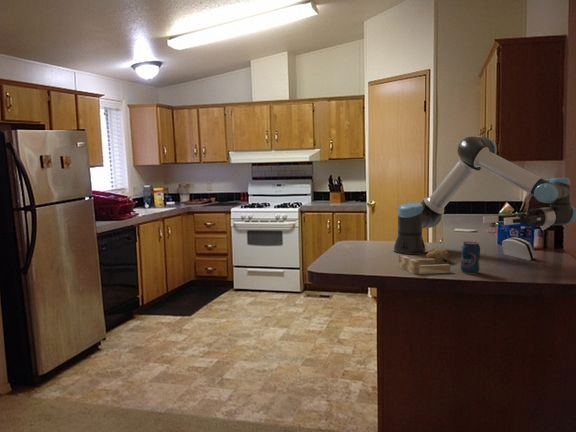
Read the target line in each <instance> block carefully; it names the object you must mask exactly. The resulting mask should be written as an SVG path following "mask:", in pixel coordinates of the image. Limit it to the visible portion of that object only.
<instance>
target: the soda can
mask: <svg viewBox="0 0 576 432" xmlns="http://www.w3.org/2000/svg"><path fill="white" fill-rule="evenodd" d="M460 258H461V259H460V270H461V272H462V273H463V274H466V275H467V274H468V275H478V274H479V272H480V265H481V264H480V263H481V261H480V260H481V246H480V243H479V242H477V241H463V243H462V245H461V257H460Z"/></svg>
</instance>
